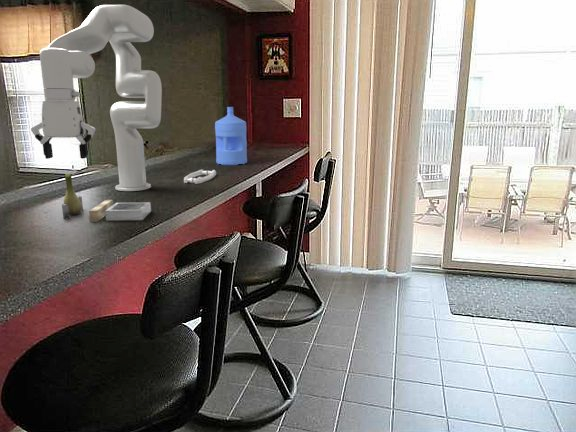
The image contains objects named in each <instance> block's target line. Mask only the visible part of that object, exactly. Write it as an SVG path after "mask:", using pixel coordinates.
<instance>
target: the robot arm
mask: <svg viewBox="0 0 576 432" xmlns="http://www.w3.org/2000/svg"><path fill="white" fill-rule="evenodd" d="M154 33H155V29H154V24H153V22H152V20H151V18H149V16H148V15H146V14H144V13H143V12H141V11H140V10H138V9H137V8H136V7H133V6H131V5H127V4H101V5H99V6H96V7H95V8H94V9H92V11H91V12H90V13H89V15H87V17H86V18H85V20H84V21H83V22H82V23H81V25H80V26H79V27H76V28H75V29H72V30H70V31H69V32H67V33H65V34H63V35H60V36H59V37H57V38H55V39H54V40H52V42H50V44H48V46H46V47H45V48H42V49H41V50H40V51H39V59H40V61H39V62H40V69H41V78H42V84H43V85H42V86H43V94H44V100H42V105H41V122H40V123H38V124H36V125H34V126H33V127H31V129H30V130H31V132H32V134H33V136H35V137H34V138H35V139H36V140H38V142H40V144H41V145H42V150H43V155H44V156H45V158H44V159H46V160H47V159H48V160H49V159H51V158H53V157H54V156H53V155H54V154H53V147H52V143H51V142H50V141H52V139H53V138H56V139H57V138H58V139H59V138H60V139H61V138H67V139H68V138H75V139H77V140H78V142H79V143H80V144H79V146H78V147H79V148H78V149H79V156H80V157H79V158H80V159H82V160H83V159H87V158H88V155H89V149H88V144H89V142H90V141H91V140H92V139H93V137H94V135H95V132H96V130H97V129H96V128H95V127H94V126H92V125H90V124H87V123H86V122H85V121H84V116H83V113H82V110H81V109H82V108H81V106H80V102H79V101H78V100H77V98H79V97H80V95H81V94H80V92H79V91H76V89H75V87H74V79H86V78H90V77H91V76H93V74H94V72H95V71H96V63H95V61H94V58H93V56H92V55H91V54H95V53H98V52H100V51H102V50H103V49H105V47H106V45H107V44H108V42H109V44H110V46H111V48H112V50H113V52H114V55H115V89H116V94H118V96H120V97H121V98H128V99H129V98H130V99H144V100H139V101H138V100H121V101H117V102H115V103H113V104H112V105H111V107H110V109H109V115H110V119H111V120H110V121H111V123H112V124H111V125H112V128H113V131H114V137H115V146H116V147H115V150H116V159H117V161H116V162H117V170H118V171H117V172H118V182H119V184H116V185H115V187H114V188H115V190H116V191H119V192H136V191H137V192H140V191H146V190H149V189H151V188H152V184H151V183H148V182H147V177H146V176H147V174H146V162H145V161H146V160H145V158H146V157H145V147H144V145H145V144H144V140H143V137H142V135H141V134H140V132H139V131H138V130H137V129H156V128H158V127H159V125H160V124H161V118H162V98H163V97H162V94H163V93H162V92H163V89H162V87H163V86H162V81H161V78H160V76H159V74H158V73H157V72H156V71H153V70H149V69H148V70H147V69H142V57H141V55H140V53H139V51H138V50H137V49H136V47H135V46H134V45H133V44H132V43H146V42H150V41H151V40H152V39H153V37H154ZM41 129H42V132H43V134H42V133H40V130H41ZM86 130H87V131H88V132H87V134H86ZM85 134H86V135H85Z"/></svg>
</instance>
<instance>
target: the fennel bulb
mask: <svg viewBox="0 0 576 432" xmlns="http://www.w3.org/2000/svg"><path fill="white" fill-rule="evenodd" d="M64 179H65V185H66V186H65V187H66V192H65V195H64V197H63V204H68V208H69V216H75V215H77V214H79V213H81V212H82V211H83V210H82V205H81V202H80V200H79V198H78V195H77V194H76V191H75V190H74V189H73V182H72V181H73V180H72V173H71V172H70V173H66V174H64Z"/></svg>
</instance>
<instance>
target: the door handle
mask: <svg viewBox="0 0 576 432" xmlns="http://www.w3.org/2000/svg"><path fill="white" fill-rule="evenodd" d="M204 175H205V176H204ZM202 176H203V177H202ZM216 176H217V171H216V170H215V169H212V170H205V169H198V170H197V171H194V172H191V173H189V174H187V175H186V176H184V177H183V183H184V184H185V183H186V184H188V183H191V184H196V185H198V184H203V183H205V182H208V181H210V180H212V179H214V177H216ZM196 177H197V178H196Z"/></svg>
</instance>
